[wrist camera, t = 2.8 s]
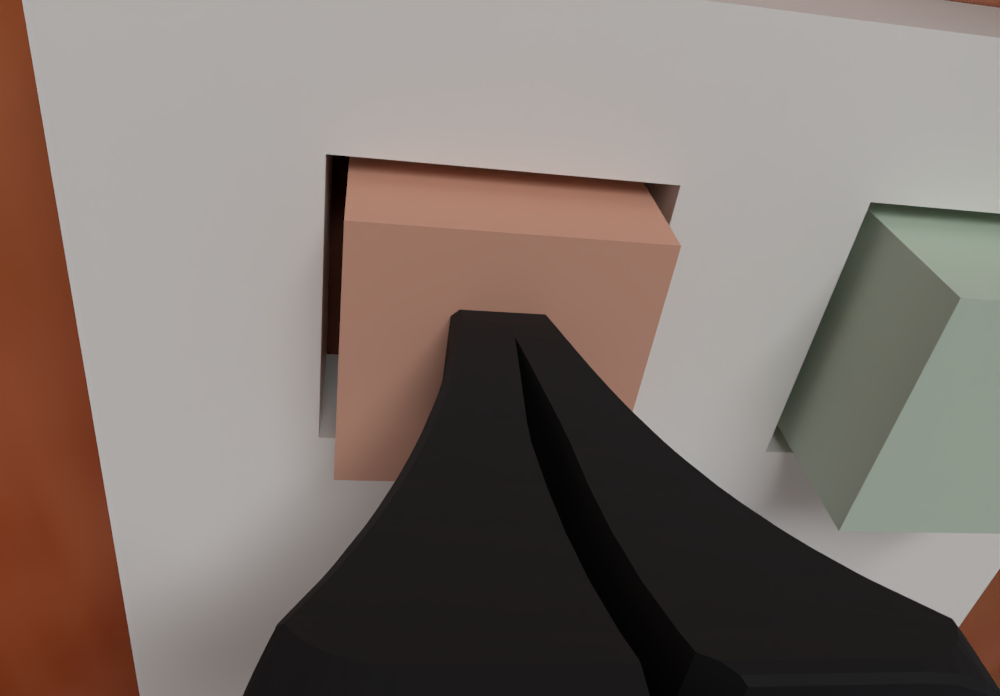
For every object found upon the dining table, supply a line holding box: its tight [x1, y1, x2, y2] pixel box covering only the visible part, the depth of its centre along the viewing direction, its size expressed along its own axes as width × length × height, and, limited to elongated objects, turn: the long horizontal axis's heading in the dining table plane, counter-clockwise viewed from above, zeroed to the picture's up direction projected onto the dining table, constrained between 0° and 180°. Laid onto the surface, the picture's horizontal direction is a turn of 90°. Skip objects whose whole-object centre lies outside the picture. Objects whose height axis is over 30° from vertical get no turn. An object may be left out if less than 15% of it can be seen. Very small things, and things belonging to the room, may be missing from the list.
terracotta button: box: [334, 156, 681, 481], centre depth 13 cm, size 4×4×3 cm
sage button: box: [777, 202, 1000, 534], centre depth 14 cm, size 4×4×3 cm
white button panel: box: [22, 0, 1000, 696], centre depth 17 cm, size 18×18×2 cm
